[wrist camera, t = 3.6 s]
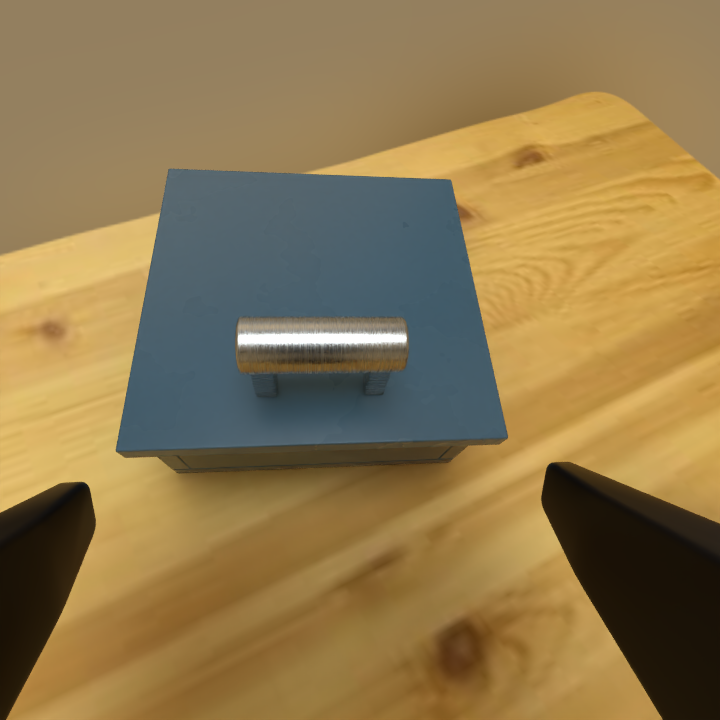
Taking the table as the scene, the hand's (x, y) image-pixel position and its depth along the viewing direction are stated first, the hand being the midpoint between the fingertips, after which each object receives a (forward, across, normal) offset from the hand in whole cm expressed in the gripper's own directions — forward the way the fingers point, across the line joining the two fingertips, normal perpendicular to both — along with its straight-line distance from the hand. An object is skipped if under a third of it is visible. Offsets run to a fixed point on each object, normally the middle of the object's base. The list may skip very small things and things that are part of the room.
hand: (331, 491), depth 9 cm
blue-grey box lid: (+10, 0, -2) cm, 10 cm away
